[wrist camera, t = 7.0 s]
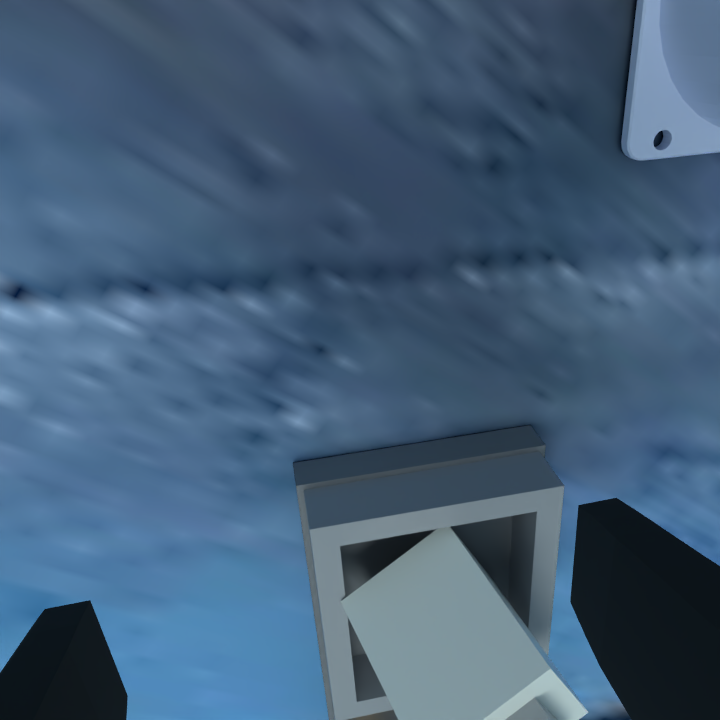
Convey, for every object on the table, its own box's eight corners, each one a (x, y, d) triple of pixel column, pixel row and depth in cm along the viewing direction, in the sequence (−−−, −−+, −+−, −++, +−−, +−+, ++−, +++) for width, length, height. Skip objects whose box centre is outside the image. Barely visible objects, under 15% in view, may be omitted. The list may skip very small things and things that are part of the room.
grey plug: (446, 521, 20) (571, 698, 16) (493, 580, 23) (606, 737, 19) (340, 601, 20) (437, 799, 16) (403, 648, 23) (497, 821, 19)
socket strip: (530, 425, 22) (571, 479, 19) (509, 765, 31) (535, 834, 28) (292, 463, 21) (301, 525, 18) (340, 802, 30) (351, 878, 27)
